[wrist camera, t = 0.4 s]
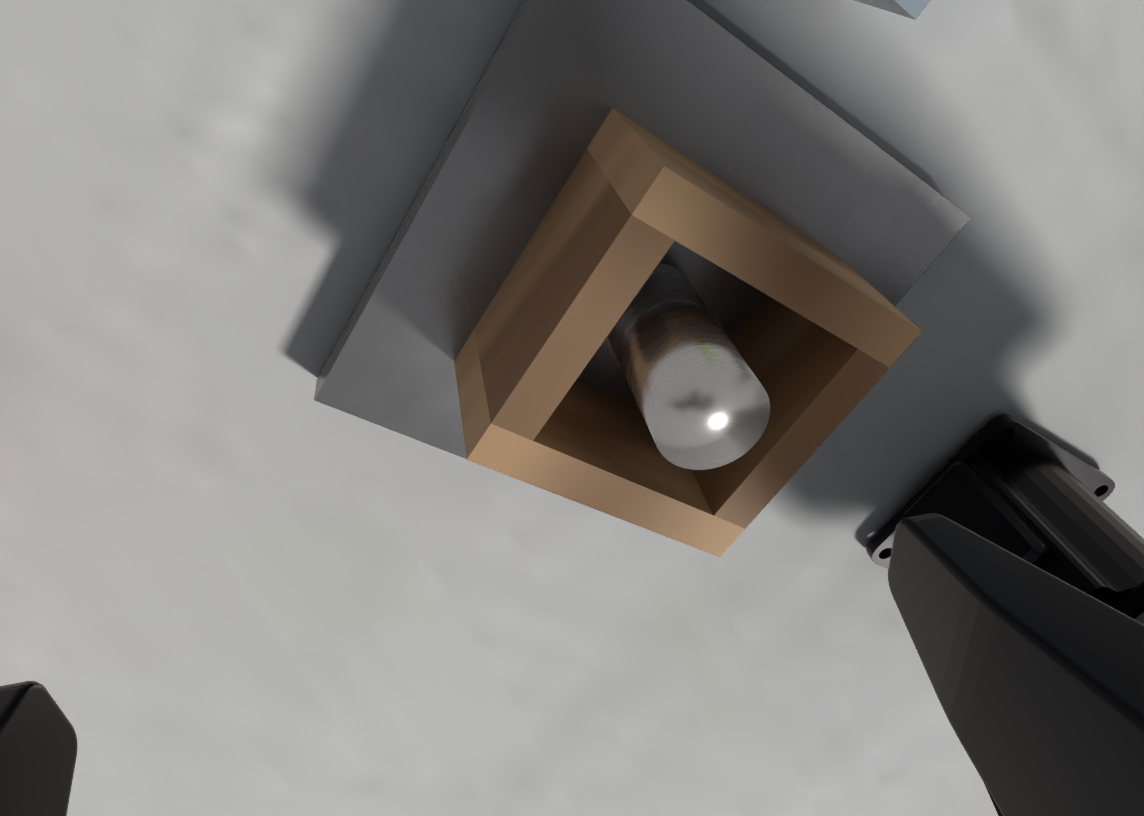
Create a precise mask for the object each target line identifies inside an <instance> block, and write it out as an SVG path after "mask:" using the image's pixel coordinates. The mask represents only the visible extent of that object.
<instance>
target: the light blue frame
mask: <svg viewBox="0 0 1144 816" xmlns="http://www.w3.org/2000/svg"><path fill="white" fill-rule="evenodd" d="M855 1H858V2H861V3H864V4H868V5H871V6H874V7H877V8H880V9H883V10H887V11H890V12H893V13H896V14H899V15H902V16H906V17H909V18H912V19H915V20H916V19H917V18H918V16H919V15H920V14H921V12H922V11H923V10H924V8H925V7H926V6H927V4H928V3H929V2H930V0H855Z"/></svg>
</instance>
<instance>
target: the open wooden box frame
mask: <svg viewBox="0 0 1144 816" xmlns="http://www.w3.org/2000/svg"><path fill="white" fill-rule="evenodd" d="M674 241H677V242H679V243H680V244H682V245H684V246H685V247H687V248H689V249H690V250H692V251H694V252H695V253H697V254H699V255H700V256H702V257H704V258H706V259H707V260H709V261H711V262H712V263H714V264H716V265H717V266H719V267H721V268H722V269H724V270H726V271H727V272H729V273H731V274H732V275H734V276H736V277H738V278H739V279H741V280H743V281H744V282H746V283H748V284H749V285H751V286H753V287H754V288H756V289H758V290H759V291H761V292H763V293H765V294H764V295H763V296H762V298H761V299H760V300H759V301H758V303H757V304H756V305H755V306H754V308H753V309H752V310H751V312H750V313H749V314H748V315H747V317H746V318H745V319H744V321H743V322H742V323H741V324H740V326H739V327H738V328H737V329H736V331H735V332H734V333H733V335H732V336H731V337H730V338H729V339H730V340H731V342H732V343H733V345H734V346H735V347H736V349H737V350H738V352H739V353H740V354H741V356H742V357H743V359H744V360H745V362H746V363H747V364H748V366H749V367H750V369H751V370H752V372H753V373H754V374H755V376H756V377H757V379H758V380H759V382H760V383H761V384H762V386H763V387H764V389H765V391H766V392H767V395H768V398H769V402H770V416H769V420H768V424H767V426H766V429H765V431H764V433H763V434H762V436H761V437H760V439H759V440H758V441H757V443H756V444H755V445H754V446H753V447H752V448H751V449H750V450H749V451H748V452H746V453H745V454H744V455H742V456H741V457H739V458H738V459H736V460H734V461H733V462H730V463H728V464H726V465H723V466H720V467H717V468H712V469H706V470H692V469H686V468H682V467H679V466H676V465H674V464H673V463H671V462H669V461H668V460H667V459H666V458H665V457H664V456H663V455H662V454H661V453H660V451H659V450H658V448H657V446H656V444H655V441H654V439H653V437H652V435H651V433H650V430H649V428H648V426H647V424H646V422H645V419H644V417H643V415H642V413H641V411H640V408H639V406H637V405H635V404H633V403H631V402H629V401H627V400H625V399H622V398H620V397H618V396H616V395H614V394H612V393H610V392H607V391H605V390H603V389H601V388H599V387H597V386H595V385H592V384H590V383H588V382H586V381H584V380H582V379H580V378H578V377H579V375H580V374H581V372H582V371H583V369H584V368H585V367H586V365H587V364H588V362H589V361H590V360H591V358H592V357H593V355H594V354H595V353H596V351H597V350H598V348H599V347H600V345H601V344H602V343H603V341H604V340H605V338H606V337H607V336H608V334H609V333H610V331H611V330H612V329H613V327H614V326H615V324H616V323H617V321H618V320H619V319H620V317H621V316H622V314H623V313H624V312H625V310H626V309H627V307H628V306H629V305H630V303H631V302H632V300H633V299H634V297H635V296H636V295H637V293H638V292H639V290H640V289H641V288H642V286H643V285H644V283H645V282H646V281H647V279H648V278H649V276H650V275H651V273H652V272H653V271H654V269H655V268H656V266H657V265H658V264H659V262H660V261H661V259H662V258H663V257H664V255H665V254H666V252H667V251H668V249H669V248H670V247H671V245H672V244H673V242H674ZM921 332H922V330H921V329H920V328H918V327H917V326H916V325H915V324H914V323H913V322H912V321H911V320H909V319H908V318H907V317H906V316H905V315H904V314H903V313H902V312H901V311H899V310H898V309H897V308H896V307H895V306H894V305H893V304H892V303H890V302H889V301H888V300H887V299H886V298H885V297H884V296H883V295H882V294H880V293H879V292H878V291H877V290H876V289H875V288H874V287H873V286H871V285H870V284H869V283H868V282H867V281H866V280H865V279H864V278H863V277H861V276H860V275H859V274H858V273H857V272H856V271H855V270H854V269H852V268H851V267H850V266H849V265H848V264H847V263H846V262H845V261H844V260H842V259H841V258H840V257H839V256H838V255H837V254H835V253H834V252H832V251H831V250H829V249H828V248H826V247H824V246H823V245H821V244H820V243H818V242H817V241H815V240H814V239H812V238H811V237H809V236H808V235H806V234H805V233H803V232H802V231H800V230H799V229H797V228H796V227H794V226H793V225H791V224H789V223H788V222H786V221H785V220H783V219H782V218H780V217H779V216H777V215H776V214H774V213H773V212H771V211H770V210H768V209H767V208H765V207H764V206H762V205H761V204H759V203H757V202H756V201H754V200H753V199H751V198H750V197H748V196H747V195H745V194H744V193H742V192H741V191H739V190H738V189H736V188H735V187H733V186H732V185H730V184H729V183H727V182H725V181H724V180H722V179H721V178H719V177H718V176H716V175H715V174H713V173H712V172H710V171H709V170H707V169H706V168H704V167H703V166H701V165H700V164H698V163H697V162H695V161H694V160H692V159H690V158H689V157H687V156H686V155H684V154H683V153H681V152H680V151H678V150H677V149H675V148H674V147H672V146H671V145H669V144H668V143H666V142H665V141H663V140H662V139H660V138H658V137H657V136H655V135H654V134H652V133H651V132H649V131H648V130H646V129H645V128H643V127H642V126H640V125H639V124H637V123H636V122H634V121H633V120H631V119H630V118H628V117H627V116H625V115H623V114H622V113H620V112H619V111H617V110H616V109H614V108H612V109H611V111H610V112H609V114H608V116H607V117H606V119H605V120H604V122H603V124H602V125H601V127H600V128H599V130H598V132H597V133H596V135H595V136H594V138H593V140H592V141H591V143H590V144H589V146H588V148H587V149H586V151H585V152H584V154H583V156H582V157H581V159H580V160H579V162H578V164H577V165H576V167H575V168H574V170H573V172H572V173H571V175H570V176H569V178H568V180H567V181H566V183H565V184H564V186H563V188H562V189H561V191H560V192H559V194H558V196H557V197H556V199H555V200H554V202H553V204H552V205H551V207H550V208H549V210H548V212H547V213H546V215H545V216H544V218H543V220H542V221H541V223H540V224H539V226H538V228H537V229H536V231H535V232H534V234H533V236H532V237H531V239H530V240H529V242H528V244H527V245H526V247H525V248H524V250H523V252H522V253H521V255H520V256H519V258H518V260H517V261H516V263H515V264H514V266H513V268H512V269H511V271H510V272H509V274H508V276H507V277H506V279H505V280H504V282H503V284H502V285H501V287H500V288H499V290H498V292H497V293H496V295H495V296H494V298H493V300H492V301H491V303H490V304H489V306H488V308H487V309H486V311H485V312H484V314H483V316H482V317H481V319H480V320H479V322H478V324H477V325H476V327H475V328H474V330H473V332H472V333H471V335H470V336H469V338H468V340H467V341H466V343H465V344H464V346H463V348H462V349H461V351H460V352H459V354H458V356H457V357H456V359H455V360H454V365H455V373H456V380H457V388H458V396H459V404H460V411H461V419H462V427H463V434H464V442H465V450H466V458H467V460H469V461H472V462H474V463H477V464H480V465H482V466H485V467H487V468H490V469H493V470H495V471H498V472H500V473H503V474H506V475H508V476H511V477H513V478H516V479H519V480H521V481H524V482H526V483H529V484H531V485H534V486H537V487H539V488H542V489H544V490H547V491H550V492H552V493H555V494H557V495H560V496H563V497H565V498H568V499H570V500H573V501H576V502H578V503H581V504H583V505H586V506H589V507H591V508H594V509H596V510H599V511H602V512H604V513H607V514H609V515H612V516H615V517H617V518H620V519H622V520H625V521H627V522H630V523H633V524H635V525H638V526H640V527H643V528H646V529H648V530H651V531H653V532H656V533H659V534H661V535H664V536H666V537H669V538H672V539H674V540H677V541H679V542H682V543H685V544H687V545H690V546H692V547H695V548H698V549H700V550H703V551H705V552H708V553H711V554H713V555H716V556H718V557H720V556H721V555H722V554H723V553H724V552H725V551H726V549H727V548H728V547H729V546H730V545H731V544H732V543H733V542H734V541H735V539H736V538H737V537H738V536H739V535H740V534H741V533H742V532H743V531H744V529H745V528H746V527H747V526H748V525H749V524H750V523H751V522H752V521H753V519H754V518H755V517H756V516H757V515H758V514H759V513H760V512H761V510H762V509H763V508H764V507H765V506H766V505H767V504H768V503H769V502H770V500H771V499H772V498H773V497H774V496H775V495H776V494H777V493H778V492H779V490H780V489H781V488H782V487H783V486H784V485H785V484H786V483H787V481H788V480H789V479H790V478H791V477H792V476H793V475H794V474H795V473H796V471H797V470H798V469H799V468H800V467H801V466H802V465H803V464H804V463H805V461H806V460H807V459H808V458H809V457H810V456H811V455H812V454H813V453H814V451H815V450H816V449H817V448H818V447H819V446H820V445H821V444H822V442H823V441H824V440H825V439H826V438H827V437H828V436H829V435H830V434H831V432H832V431H833V430H834V429H835V428H836V427H837V426H838V425H839V424H840V422H841V421H842V420H843V419H844V418H845V417H846V416H847V415H848V413H849V412H850V411H851V410H852V409H853V408H854V407H855V406H856V405H857V403H858V402H859V401H860V400H861V399H862V398H863V397H864V396H865V395H866V393H867V392H868V391H869V390H870V389H871V388H872V387H873V386H874V385H875V383H876V382H877V381H878V380H879V379H880V378H881V377H882V376H883V374H884V373H885V372H886V371H887V370H888V369H889V368H890V367H891V366H892V364H893V363H894V362H895V361H896V360H897V359H898V358H899V357H900V356H901V354H902V353H903V352H904V351H905V350H906V349H907V348H908V347H909V345H910V344H911V343H912V342H913V341H914V340H915V339H916V338H917V337H918V335H919V334H920V333H921Z"/></svg>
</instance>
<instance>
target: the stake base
mask: <svg viewBox="0 0 1144 816" xmlns="http://www.w3.org/2000/svg"><path fill="white" fill-rule="evenodd" d="M612 108H614V109H616V110H617V111H619V112H620V113H622V114H623V115H625V116H627V117H628V118H630V119H631V120H633V121H634V122H636V123H637V124H639V125H640V126H642V127H643V128H645V129H646V130H648V131H649V132H651V133H652V134H654V135H655V136H657V137H658V138H660V139H662V140H663V141H665V142H666V143H668V144H669V145H671V146H672V147H674V148H675V149H677V150H678V151H680V152H681V153H683V154H684V155H686V156H687V157H689V158H690V159H692V160H694V161H695V162H697V163H698V164H700V165H701V166H703V167H704V168H706V169H707V170H709V171H710V172H712V173H713V174H715V175H716V176H718V177H719V178H721V179H722V180H724V181H725V182H727V183H729V184H730V185H732V186H733V187H735V188H736V189H738V190H739V191H741V192H742V193H744V194H745V195H747V196H748V197H750V198H751V199H753V200H754V201H756V202H757V203H759V204H761V205H762V206H764V207H765V208H767V209H768V210H770V211H771V212H773V213H774V214H776V215H777V216H779V217H780V218H782V219H783V220H785V221H786V222H788V223H789V224H791V225H793V226H794V227H796V228H797V229H799V230H800V231H802V232H803V233H805V234H806V235H808V236H809V237H811V238H812V239H814V240H815V241H817V242H818V243H820V244H821V245H823V246H824V247H826V248H828V249H829V250H831V251H832V252H834V253H835V254H837V255H838V256H839V257H840V258H841V259H842V260H844V261H845V262H846V263H847V264H848V265H849V266H850V267H851V268H852V269H854V270H855V271H856V272H857V273H858V274H859V275H860V276H861V277H863V278H864V279H865V280H866V281H867V282H868V283H869V284H870V285H871V286H873V287H874V288H875V289H876V290H877V291H878V292H879V293H880V294H882V295H883V296H884V297H885V298H886V299H887V300H888V301H889V302H890V303H892V304H893V305H894V306H895V305H896V304H897V303H898V301H899V300H900V299H901V298H902V297H903V296H904V294H905V293H906V292H907V291H908V290H909V289H910V288H911V286H912V285H913V284H914V283H915V282H916V281H917V280H918V278H919V277H920V276H921V275H922V274H923V273H924V271H925V270H926V269H927V268H928V267H929V266H930V265H931V263H932V262H933V261H934V260H935V259H936V258H937V256H938V255H939V254H940V253H941V252H942V251H943V250H944V248H945V247H946V246H947V245H948V244H949V243H950V241H951V240H952V239H953V238H954V237H955V236H956V235H957V233H958V232H959V231H960V230H961V229H962V228H963V226H964V225H965V224H966V223H967V222H968V221H969V220H970V218H971V217H970V216H968V215H967V214H966V213H964V212H963V211H962V210H960V209H959V208H958V207H957V206H955V205H954V204H953V203H951V202H950V201H949V200H947V199H946V198H945V197H943V196H942V195H941V194H940V193H938V192H937V191H936V190H934V189H933V188H932V187H930V186H929V185H928V184H926V183H925V182H924V181H923V180H921V179H920V178H919V177H917V176H916V175H915V174H913V173H912V172H911V171H910V170H908V169H907V168H906V167H904V166H903V165H902V164H900V163H899V162H898V161H896V160H895V159H894V158H893V157H891V156H890V155H889V154H887V153H886V152H885V151H883V150H882V149H881V148H879V147H878V146H877V145H876V144H874V143H873V142H872V141H870V140H869V139H868V138H866V137H865V136H864V135H862V134H861V133H860V132H859V131H857V130H856V129H855V128H853V127H852V126H851V125H849V124H848V123H847V122H846V121H844V120H843V119H842V118H840V117H839V116H838V115H836V114H835V113H834V112H832V111H831V110H830V109H829V108H827V107H826V106H825V105H823V104H822V103H821V102H819V101H818V100H817V99H815V98H814V97H813V96H812V95H810V94H809V93H808V92H806V91H805V90H804V89H802V88H801V87H800V86H799V85H797V84H796V83H795V82H793V81H792V80H791V79H789V78H788V77H787V76H785V75H784V74H783V73H782V72H780V71H779V70H778V69H776V68H775V67H774V66H772V65H771V64H770V63H768V62H767V61H766V60H765V59H763V58H762V57H761V56H759V55H758V54H757V53H755V52H754V51H753V50H751V49H750V48H749V47H748V46H746V45H745V44H744V43H742V42H741V41H740V40H738V39H737V38H736V37H735V36H733V35H732V34H731V33H729V32H728V31H727V30H725V29H724V28H723V27H721V26H720V25H719V24H718V23H716V22H715V21H714V20H712V19H711V18H710V17H708V16H707V15H706V14H704V13H703V12H702V11H701V10H699V9H698V8H697V7H695V6H694V5H693V4H691V3H690V2H689V1H687V0H524V1H523V3H522V4H521V6H520V8H519V10H518V12H517V14H516V15H515V17H514V19H513V21H512V23H511V25H510V26H509V28H508V30H507V32H506V34H505V36H504V37H503V39H502V41H501V43H500V45H499V47H498V48H497V50H496V52H495V54H494V56H493V58H492V59H491V61H490V63H489V65H488V67H487V69H486V70H485V72H484V74H483V76H482V78H481V79H480V81H479V83H478V85H477V87H476V89H475V90H474V92H473V94H472V96H471V98H470V100H469V101H468V103H467V105H466V107H465V109H464V111H463V112H462V114H461V116H460V118H459V120H458V122H457V123H456V125H455V127H454V129H453V131H452V133H451V134H450V136H449V138H448V140H447V142H446V144H445V145H444V147H443V149H442V151H441V153H440V155H439V156H438V158H437V160H436V162H435V164H434V166H433V167H432V169H431V171H430V173H429V175H428V177H427V178H426V180H425V182H424V184H423V186H422V187H421V189H420V191H419V193H418V195H417V197H416V198H415V200H414V202H413V204H412V206H411V208H410V209H409V211H408V213H407V215H406V217H405V219H404V220H403V222H402V224H401V226H400V228H399V230H398V231H397V233H396V235H395V237H394V239H393V241H392V242H391V244H390V246H389V248H388V250H387V252H386V253H385V255H384V257H383V259H382V261H381V263H380V264H379V266H378V268H377V270H376V272H375V274H374V275H373V277H372V279H371V281H370V283H369V285H368V286H367V288H366V290H365V292H364V294H363V295H362V297H361V299H360V301H359V303H358V305H357V306H356V308H355V310H354V312H353V314H352V316H351V317H350V319H349V321H348V323H347V325H346V327H345V328H344V330H343V332H342V334H341V336H340V338H339V339H338V341H337V343H336V345H335V347H334V349H333V350H332V352H331V354H330V356H329V358H328V360H327V361H326V363H325V365H324V367H323V369H322V371H321V372H320V374H319V376H318V378H317V383H316V390H315V397H314V400H315V401H318V402H320V403H323V404H326V405H328V406H331V407H333V408H336V409H339V410H341V411H344V412H346V413H349V414H351V415H354V416H357V417H359V418H362V419H364V420H367V421H370V422H372V423H375V424H377V425H380V426H383V427H385V428H388V429H390V430H393V431H396V432H398V433H401V434H403V435H406V436H409V437H411V438H414V439H416V440H419V441H421V442H424V443H427V444H429V445H432V446H434V447H437V448H440V449H442V450H445V451H447V452H450V453H453V454H455V455H458V456H460V457H463V458H466V450H465V442H464V434H463V427H462V419H461V411H460V404H459V396H458V388H457V380H456V373H455V365H454V360H455V359H456V357H457V356H458V354H459V352H460V351H461V349H462V348H463V346H464V344H465V343H466V341H467V340H468V338H469V336H470V335H471V333H472V332H473V330H474V328H475V327H476V325H477V324H478V322H479V320H480V319H481V317H482V316H483V314H484V312H485V311H486V309H487V308H488V306H489V304H490V303H491V301H492V300H493V298H494V296H495V295H496V293H497V292H498V290H499V288H500V287H501V285H502V284H503V282H504V280H505V279H506V277H507V276H508V274H509V272H510V271H511V269H512V268H513V266H514V264H515V263H516V261H517V260H518V258H519V256H520V255H521V253H522V252H523V250H524V248H525V247H526V245H527V244H528V242H529V240H530V239H531V237H532V236H533V234H534V232H535V231H536V229H537V228H538V226H539V224H540V223H541V221H542V220H543V218H544V216H545V215H546V213H547V212H548V210H549V208H550V207H551V205H552V204H553V202H554V200H555V199H556V197H557V196H558V194H559V192H560V191H561V189H562V188H563V186H564V184H565V183H566V181H567V180H568V178H569V176H570V175H571V173H572V172H573V170H574V168H575V167H576V165H577V164H578V162H579V160H580V159H581V157H582V156H583V154H584V152H585V151H586V149H587V148H588V146H589V144H590V143H591V141H592V140H593V138H594V136H595V135H596V133H597V132H598V130H599V128H600V127H601V125H602V124H603V122H604V120H605V119H606V117H607V116H608V114H609V112H610V111H611V109H612ZM764 294H765V293H763V292H761V291H759V290H758V289H756V288H754V287H753V286H751V285H749V284H748V283H746V282H744V281H743V280H741V279H739V278H738V277H736V276H734V275H732V274H731V273H729V272H727V271H726V270H724V269H722V268H721V267H719V266H717V265H716V264H714V263H712V262H711V261H709V260H707V259H706V258H704V257H702V256H700V255H699V254H697V253H695V252H694V251H692V250H690V249H689V248H687V247H685V246H684V245H682V244H680V243H679V242H677V241H674V242H673V244H672V245H671V247H670V248H669V249H668V251H667V252H666V254H665V255H664V257H663V258H662V259H661V261H660V262H659V264H658V265H657V266H656V268H655V269H654V271H653V272H652V273H651V275H650V276H649V278H648V279H647V281H646V282H645V283H644V285H643V286H642V288H641V289H640V290H639V292H638V293H637V295H636V296H635V297H634V299H633V300H632V302H631V303H630V305H629V306H628V307H627V309H626V310H625V312H624V313H623V314H622V316H621V317H620V319H619V320H618V321H617V323H616V324H615V326H614V327H613V329H612V330H611V331H610V333H609V334H608V336H607V337H606V338H605V340H604V341H603V343H602V344H601V345H600V347H599V348H598V350H597V351H596V353H595V354H594V355H593V357H592V358H591V360H590V361H589V362H588V364H587V365H586V367H585V368H584V369H583V371H582V372H581V374H580V375H579V377H578V378H580V379H582V380H584V381H586V382H588V383H590V384H592V385H595V386H597V387H599V388H601V389H603V390H605V391H607V392H610V393H612V394H614V395H616V396H618V397H620V398H622V399H625V400H627V401H629V402H631V403H633V404H635V405H637V406H639V408H640V411H641V413H642V415H643V417H644V419H645V422H646V424H647V426H648V428H649V430H650V433H651V435H652V437H653V439H654V441H655V444H656V446H657V448H658V450H659V451H660V453H661V454H662V455H663V456H664V457H665V458H666V459H667V460H668V461H669V462H671V463H673V464H674V465H676V466H679V467H682V468H686V469H692V470H706V469H712V468H717V467H720V466H723V465H726V464H728V463H730V462H733V461H734V460H736V459H738V458H739V457H741V456H742V455H744V454H745V453H746V452H748V451H749V450H750V449H751V448H752V447H753V446H754V445H755V444H756V443H757V441H758V440H759V439H760V437H761V436H762V434H763V433H764V431H765V429H766V426H767V424H768V420H769V416H770V402H769V398H768V395H767V392H766V391H765V389H764V387H763V386H762V384H761V383H760V382H759V380H758V379H757V377H756V376H755V374H754V373H753V372H752V370H751V369H750V367H749V366H748V364H747V363H746V362H745V360H744V359H743V357H742V356H741V354H740V353H739V352H738V350H737V349H736V347H735V346H734V345H733V343H732V342H731V340H730V339H729V338H730V337H731V336H732V335H733V333H734V332H735V331H736V329H737V328H738V327H739V326H740V324H741V323H742V322H743V321H744V319H745V318H746V317H747V315H748V314H749V313H750V312H751V310H752V309H753V308H754V306H755V305H756V304H757V303H758V301H759V300H760V299H761V298H762V296H763V295H764ZM466 459H467V458H466Z"/></svg>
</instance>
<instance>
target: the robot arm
mask: <svg viewBox="0 0 1144 816" xmlns="http://www.w3.org/2000/svg"><path fill="white" fill-rule="evenodd" d="M1114 488H1115V483H1114V482H1113V480H1111V479H1110V478H1109V477H1108V476H1107V475H1106V474H1104V473H1103V472H1101V471H1100V470H1098V469H1096V468H1095V467H1093V466H1092V465H1090V464H1088V463H1087V462H1085V461H1083V460H1082V459H1080V458H1079V457H1077V456H1075V455H1074V454H1072V453H1070V452H1069V451H1067V450H1066V449H1064V448H1062V447H1061V446H1059V445H1057V444H1056V443H1054V442H1052V441H1051V440H1049V439H1048V438H1046V437H1044V436H1043V435H1041V434H1039V433H1038V432H1036V431H1035V430H1033V429H1031V428H1030V427H1028V426H1026V425H1025V424H1023V423H1022V422H1020V421H1018V420H1017V419H1015V418H1013V417H1012V416H1010V415H1007V414H1004V415H999V416H997V417H994V418H993V419H992V420H990V421H989V422H988V423H987V424H986V425H985V426H984V427H983V428H982V429H981V430H980V431H979V432H978V433H977V434H976V435H975V436H974V437H973V438H972V439H971V440H970V441H969V442H968V443H967V444H966V445H965V446H964V447H963V448H962V449H961V450H960V451H959V452H958V453H957V454H956V455H955V456H954V457H953V458H952V459H951V460H950V461H949V462H948V464H947V465H946V466H945V467H944V468H943V469H942V470H941V471H940V472H939V473H938V474H937V475H936V476H935V477H934V478H933V479H932V480H931V481H930V482H929V483H928V484H927V485H926V486H925V487H924V488H923V489H922V490H921V491H920V492H919V493H918V494H917V495H916V496H915V497H914V498H913V499H912V500H911V501H910V502H909V503H908V504H907V505H906V506H905V507H904V508H903V509H902V510H901V511H900V512H899V513H898V514H897V515H896V516H895V517H894V518H893V519H892V520H891V521H890V522H889V523H888V524H887V525H886V526H885V527H884V528H883V529H882V530H881V531H880V532H879V533H878V534H877V535H876V536H875V537H874V538H873V539H872V540H871V541H870V543H869V544H868V545H867V549H866V550H867V553H868V555H869V556H870V558H871V559H872V561H873V562H875V563H876V564H878V565H881V566H883V567H885V568H888V581H889V586H890V590H891V593H892V595H893V598H894V600H895V602H896V604H897V607H898V609H899V611H900V613H901V616H902V618H903V620H904V622H905V625H906V627H907V629H908V631H909V634H910V636H911V638H912V640H913V643H914V645H915V647H916V649H917V652H918V654H919V656H920V658H921V661H922V663H923V665H924V667H925V670H926V672H927V674H928V676H929V679H930V681H931V683H932V685H933V688H934V690H935V692H936V694H937V697H938V699H939V701H940V703H941V705H942V707H943V709H944V711H945V714H946V716H947V718H948V720H949V722H950V724H951V725H952V727H953V729H954V731H955V733H956V735H957V736H958V738H959V740H960V742H961V744H962V745H963V747H964V749H965V750H966V752H967V754H968V756H969V757H970V759H971V761H972V763H973V764H974V766H975V768H976V769H977V771H978V773H979V775H980V776H981V778H982V780H983V782H984V784H985V786H986V788H987V791H988V793H989V795H990V797H991V800H992V802H993V804H994V806H995V808H996V811H997V813H998V815H999V816H1144V539H1143V538H1142V537H1141V536H1140V535H1139V534H1138V533H1137V532H1136V531H1135V530H1134V529H1132V528H1131V527H1130V526H1129V525H1128V524H1127V523H1126V522H1125V521H1124V520H1122V519H1121V518H1120V517H1119V516H1118V515H1117V514H1116V513H1115V512H1114V511H1113V510H1111V509H1110V508H1109V507H1108V506H1107V505H1106V504H1105V503H1104V502H1103V500H1105V499H1106V498H1107V497H1108V496H1109V495H1110V494H1111V493H1112V492H1113V490H1114ZM76 756H77V737H76V734H75V731H74V728H73V726H72V725H71V723H70V722H69V720H68V719H67V718H66V716H65V715H64V713H63V712H62V711H61V709H60V708H59V706H58V705H57V704H56V702H55V701H54V700H53V698H52V697H51V695H50V694H49V693H48V691H47V690H46V688H45V687H44V686H43V685H42V684H39V683H37V682H35V681H26V682H21V683H15V684H10V685H4V686H0V816H66V815H67V809H68V803H69V797H70V791H71V785H72V779H73V774H74V768H75V762H76Z"/></svg>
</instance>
